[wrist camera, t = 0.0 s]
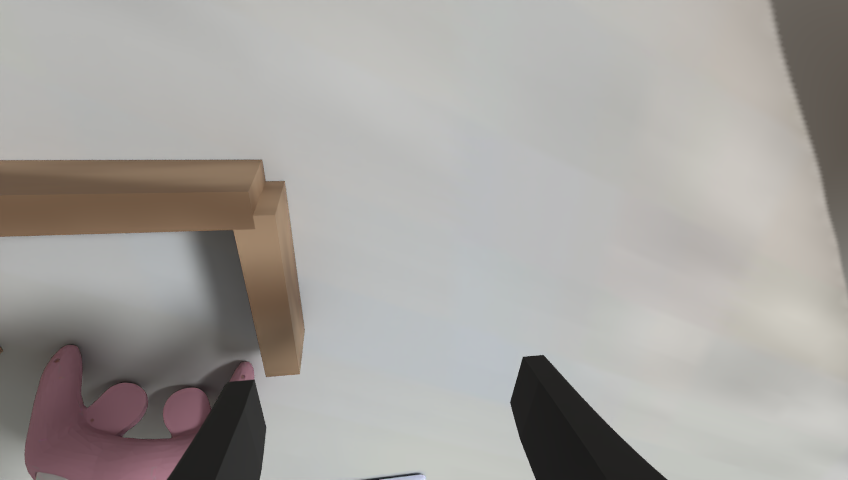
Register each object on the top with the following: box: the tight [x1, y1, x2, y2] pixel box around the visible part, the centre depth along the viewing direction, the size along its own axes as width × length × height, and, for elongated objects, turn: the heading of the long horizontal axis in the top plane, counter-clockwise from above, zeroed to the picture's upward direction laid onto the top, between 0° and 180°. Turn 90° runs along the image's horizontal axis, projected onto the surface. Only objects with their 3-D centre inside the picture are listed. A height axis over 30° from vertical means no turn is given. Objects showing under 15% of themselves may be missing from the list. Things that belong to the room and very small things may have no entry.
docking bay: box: [0, 160, 305, 377], centre depth 18 cm, size 10×16×3 cm, turn 87°
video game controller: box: [25, 345, 254, 480], centre depth 22 cm, size 10×5×7 cm, turn 71°
